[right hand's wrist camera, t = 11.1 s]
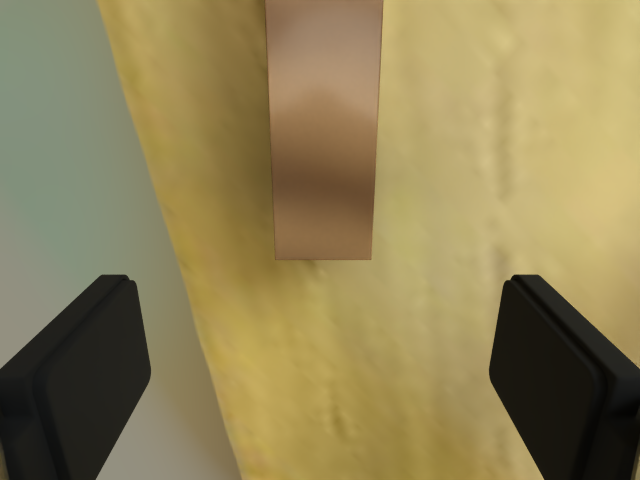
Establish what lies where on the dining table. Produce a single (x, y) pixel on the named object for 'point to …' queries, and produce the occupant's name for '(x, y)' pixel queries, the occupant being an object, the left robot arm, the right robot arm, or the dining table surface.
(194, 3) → the dining table surface
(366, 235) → the post
